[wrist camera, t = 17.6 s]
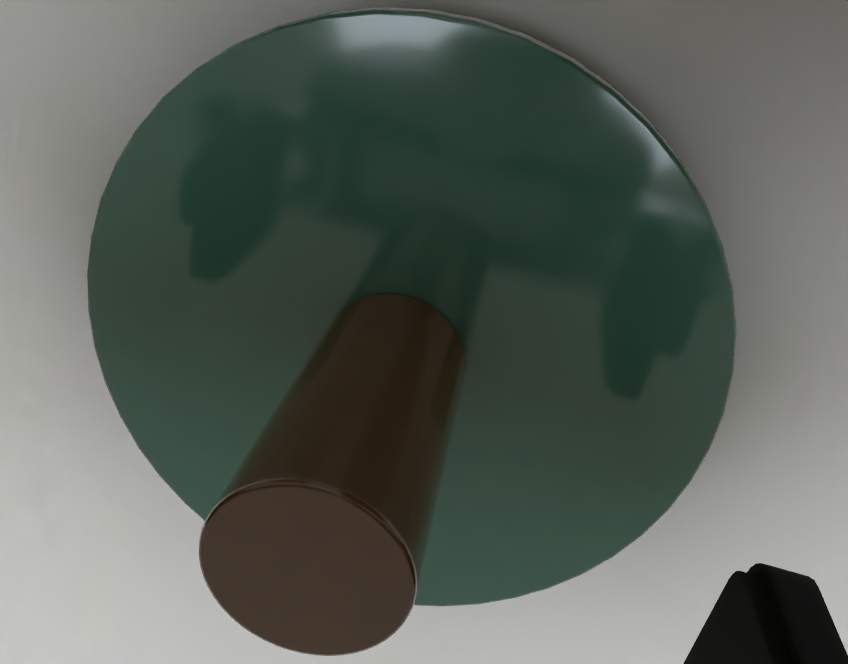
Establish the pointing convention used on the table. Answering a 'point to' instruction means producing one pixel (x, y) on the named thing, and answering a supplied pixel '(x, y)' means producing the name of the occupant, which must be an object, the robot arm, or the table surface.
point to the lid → (407, 319)
